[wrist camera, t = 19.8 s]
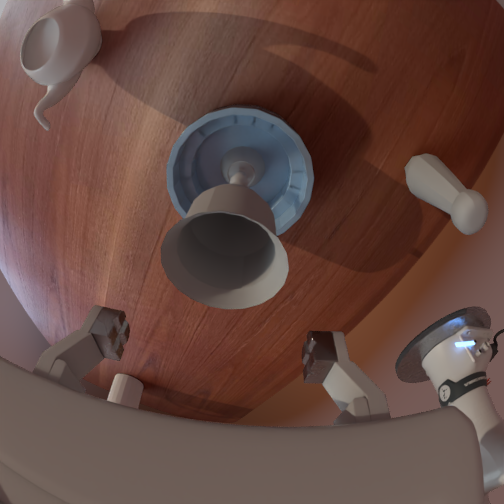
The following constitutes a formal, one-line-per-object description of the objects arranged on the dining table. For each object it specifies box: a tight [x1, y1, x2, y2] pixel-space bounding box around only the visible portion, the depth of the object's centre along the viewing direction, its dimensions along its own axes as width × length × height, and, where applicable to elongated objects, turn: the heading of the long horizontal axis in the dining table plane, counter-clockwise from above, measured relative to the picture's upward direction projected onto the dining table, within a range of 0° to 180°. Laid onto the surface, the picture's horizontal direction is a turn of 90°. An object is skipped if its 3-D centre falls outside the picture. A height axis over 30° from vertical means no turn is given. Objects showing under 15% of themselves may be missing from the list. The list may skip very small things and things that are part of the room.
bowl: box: [167, 104, 314, 236], centre depth 29 cm, size 14×14×6 cm
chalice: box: [161, 146, 289, 309], centre depth 23 cm, size 7×7×18 cm
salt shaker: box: [405, 154, 488, 235], centre depth 24 cm, size 6×6×13 cm
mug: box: [107, 374, 144, 409], centre depth 59 cm, size 8×12×10 cm
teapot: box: [20, 0, 102, 131], centre depth 17 cm, size 10×20×9 cm, turn 166°
